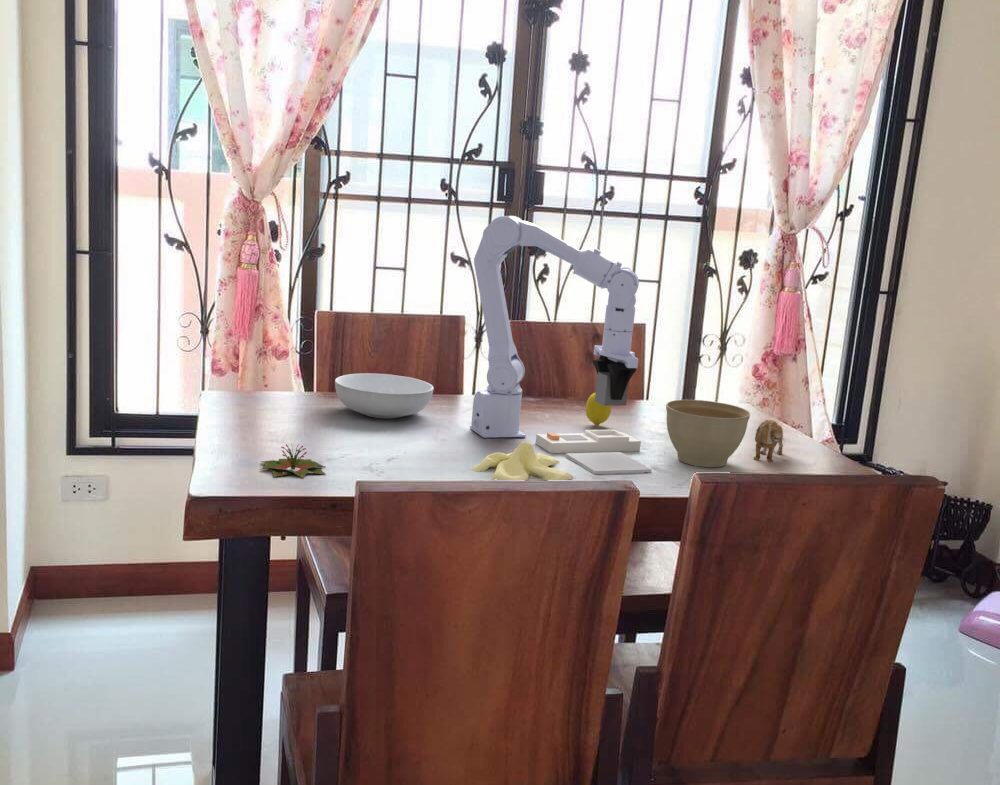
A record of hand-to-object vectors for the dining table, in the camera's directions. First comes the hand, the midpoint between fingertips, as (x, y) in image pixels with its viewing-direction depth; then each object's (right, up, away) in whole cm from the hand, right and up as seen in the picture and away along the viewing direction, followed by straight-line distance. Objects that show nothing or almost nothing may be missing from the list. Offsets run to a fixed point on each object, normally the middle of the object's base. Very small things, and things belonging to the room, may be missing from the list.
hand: (610, 396), depth 202 cm
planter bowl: (+18, -13, -3) cm, 22 cm away
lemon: (-1, -7, +20) cm, 21 cm away
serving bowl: (-47, -4, +14) cm, 50 cm away
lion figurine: (+33, -13, +5) cm, 36 cm away
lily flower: (-57, -13, -32) cm, 67 cm away
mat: (-2, -13, -11) cm, 17 cm away
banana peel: (-20, -14, -21) cm, 32 cm away
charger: (0, -1, 0) cm, 1 cm away
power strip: (-5, -10, 0) cm, 11 cm away
